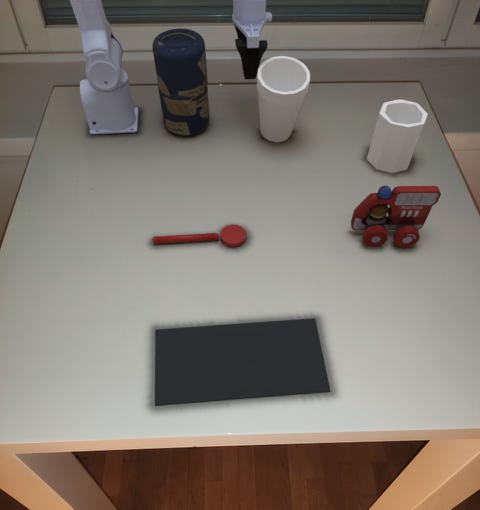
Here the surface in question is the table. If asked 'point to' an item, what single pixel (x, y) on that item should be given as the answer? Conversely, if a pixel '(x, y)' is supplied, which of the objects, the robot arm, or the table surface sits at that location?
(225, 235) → the spoon
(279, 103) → the foam cup
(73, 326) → the table surface
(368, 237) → the toy fire truck
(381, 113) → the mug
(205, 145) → the table surface
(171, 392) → the placemat
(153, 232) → the table surface
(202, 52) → the canister
